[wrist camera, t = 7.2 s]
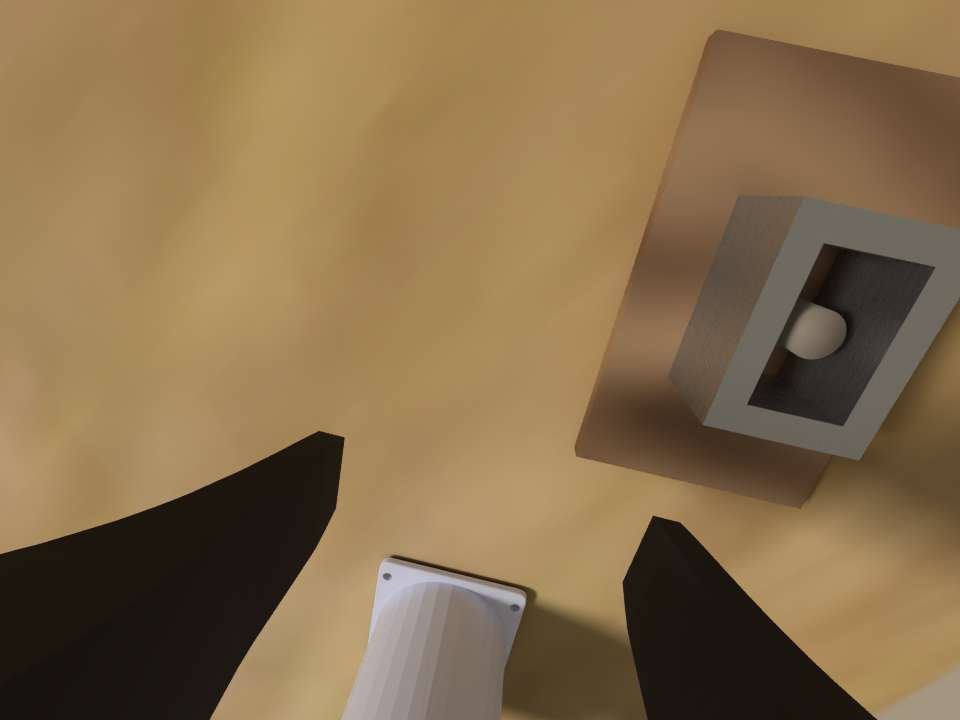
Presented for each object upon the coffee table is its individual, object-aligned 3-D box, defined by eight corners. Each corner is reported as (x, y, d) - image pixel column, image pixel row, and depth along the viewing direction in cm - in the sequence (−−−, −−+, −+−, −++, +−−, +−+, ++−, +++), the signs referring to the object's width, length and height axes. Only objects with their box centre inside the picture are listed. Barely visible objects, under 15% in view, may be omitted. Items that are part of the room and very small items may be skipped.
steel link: (790, 404, 18) (859, 460, 14) (667, 376, 18) (702, 424, 14) (883, 226, 15) (997, 237, 11) (738, 195, 15) (804, 196, 12)
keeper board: (790, 496, 20) (849, 566, 16) (574, 446, 20) (583, 503, 17) (1017, 99, 14) (1189, 67, 10) (707, 37, 15) (768, -15, 11)
